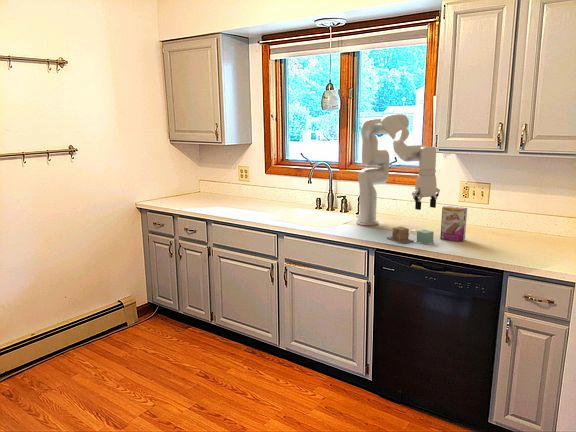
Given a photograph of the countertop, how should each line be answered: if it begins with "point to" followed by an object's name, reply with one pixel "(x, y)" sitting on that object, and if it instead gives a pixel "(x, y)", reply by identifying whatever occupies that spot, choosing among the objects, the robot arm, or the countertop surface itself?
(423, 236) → the teal block
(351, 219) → the countertop surface
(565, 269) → the countertop surface
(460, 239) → the candy bar box
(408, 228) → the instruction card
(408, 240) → the mat
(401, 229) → the walnut block
